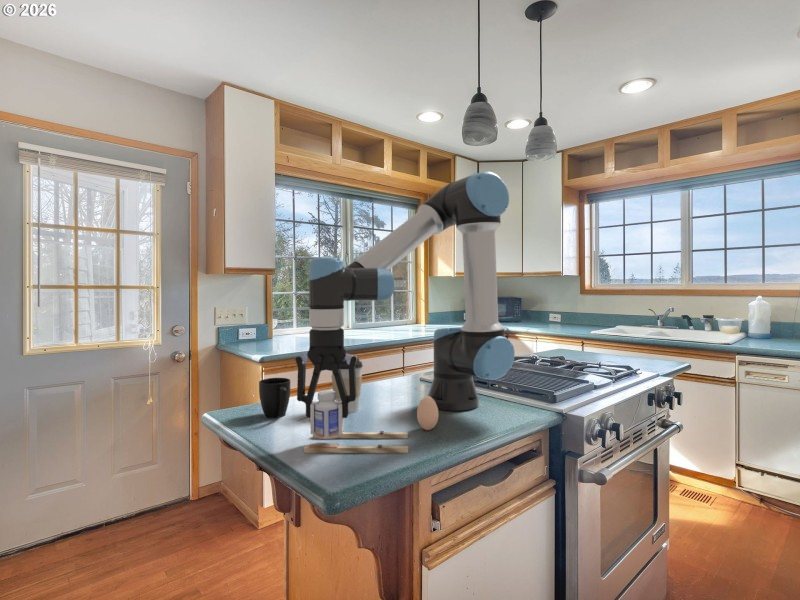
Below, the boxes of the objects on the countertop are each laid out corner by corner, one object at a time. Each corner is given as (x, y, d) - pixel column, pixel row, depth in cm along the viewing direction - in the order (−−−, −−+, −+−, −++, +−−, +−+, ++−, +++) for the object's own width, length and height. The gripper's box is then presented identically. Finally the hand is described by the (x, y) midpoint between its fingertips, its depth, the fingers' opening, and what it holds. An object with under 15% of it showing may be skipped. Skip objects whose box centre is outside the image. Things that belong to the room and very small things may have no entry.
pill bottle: (339, 431, 98) (339, 388, 98) (339, 439, 93) (339, 394, 92) (315, 432, 97) (315, 389, 97) (313, 440, 92) (313, 395, 92)
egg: (412, 428, 106) (412, 395, 105) (428, 424, 109) (428, 392, 108) (426, 434, 101) (426, 400, 101) (442, 430, 105) (442, 396, 104)
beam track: (407, 436, 100) (407, 431, 100) (408, 452, 90) (408, 446, 90) (313, 436, 100) (313, 430, 100) (304, 452, 90) (304, 446, 90)
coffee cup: (324, 412, 120) (324, 358, 119) (341, 404, 128) (341, 354, 128) (353, 415, 116) (353, 361, 116) (368, 407, 125) (368, 356, 124)
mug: (267, 425, 108) (266, 388, 108) (256, 413, 118) (255, 379, 118) (298, 420, 112) (298, 384, 112) (285, 409, 122) (285, 376, 122)
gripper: (369, 326, 98) (370, 426, 99) (289, 326, 98) (290, 426, 99) (367, 329, 91) (367, 438, 91) (280, 329, 91) (281, 438, 91)
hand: (327, 431), depth 95 cm, fingers closed on pill bottle, 5 cm apart
